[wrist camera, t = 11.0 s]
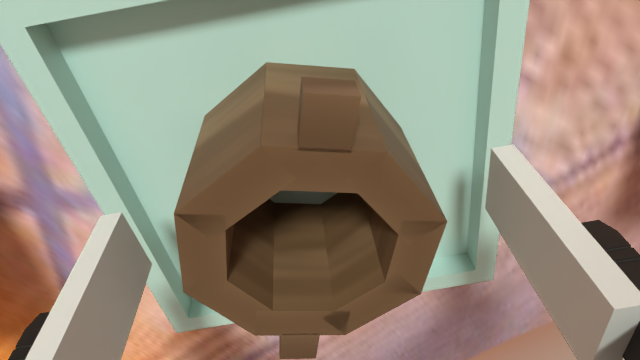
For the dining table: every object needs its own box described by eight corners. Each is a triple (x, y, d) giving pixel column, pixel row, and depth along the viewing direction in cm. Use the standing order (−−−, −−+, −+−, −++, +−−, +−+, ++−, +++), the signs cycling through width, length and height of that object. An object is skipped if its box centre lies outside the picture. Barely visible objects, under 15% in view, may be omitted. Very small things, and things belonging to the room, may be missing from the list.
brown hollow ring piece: (198, 14, 14) (157, 83, 10) (423, 34, 15) (490, 105, 10) (212, 246, 21) (191, 359, 16) (370, 250, 22) (397, 357, 17)
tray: (11, -16, 14) (-27, -1, 12) (509, -112, 14) (543, -111, 12) (183, 299, 24) (176, 332, 22) (477, 250, 24) (493, 280, 22)
